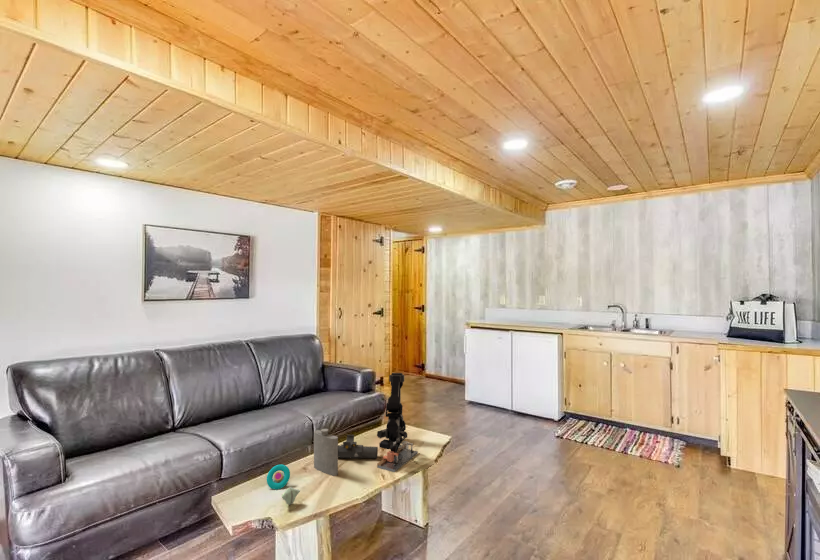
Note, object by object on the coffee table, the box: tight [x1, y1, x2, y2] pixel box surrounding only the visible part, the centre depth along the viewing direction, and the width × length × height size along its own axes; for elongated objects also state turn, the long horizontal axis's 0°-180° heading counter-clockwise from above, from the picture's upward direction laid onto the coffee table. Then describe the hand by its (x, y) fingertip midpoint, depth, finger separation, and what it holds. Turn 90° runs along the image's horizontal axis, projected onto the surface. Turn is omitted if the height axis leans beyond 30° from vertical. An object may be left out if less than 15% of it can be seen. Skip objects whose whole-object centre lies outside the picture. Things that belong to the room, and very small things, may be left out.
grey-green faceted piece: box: [281, 486, 301, 506], centre depth 168 cm, size 8×4×7 cm, turn 130°
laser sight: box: [338, 434, 379, 460], centre depth 213 cm, size 10×22×10 cm, turn 87°
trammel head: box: [382, 450, 398, 462], centre depth 205 cm, size 2×8×4 cm, turn 61°
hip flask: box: [313, 428, 339, 477], centre depth 198 cm, size 16×4×20 cm, turn 52°
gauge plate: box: [376, 440, 419, 473], centre depth 209 cm, size 24×10×6 cm, turn 151°
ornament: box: [266, 463, 291, 490], centre depth 184 cm, size 11×4×10 cm
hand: (393, 456), depth 208 cm, fingers closed
